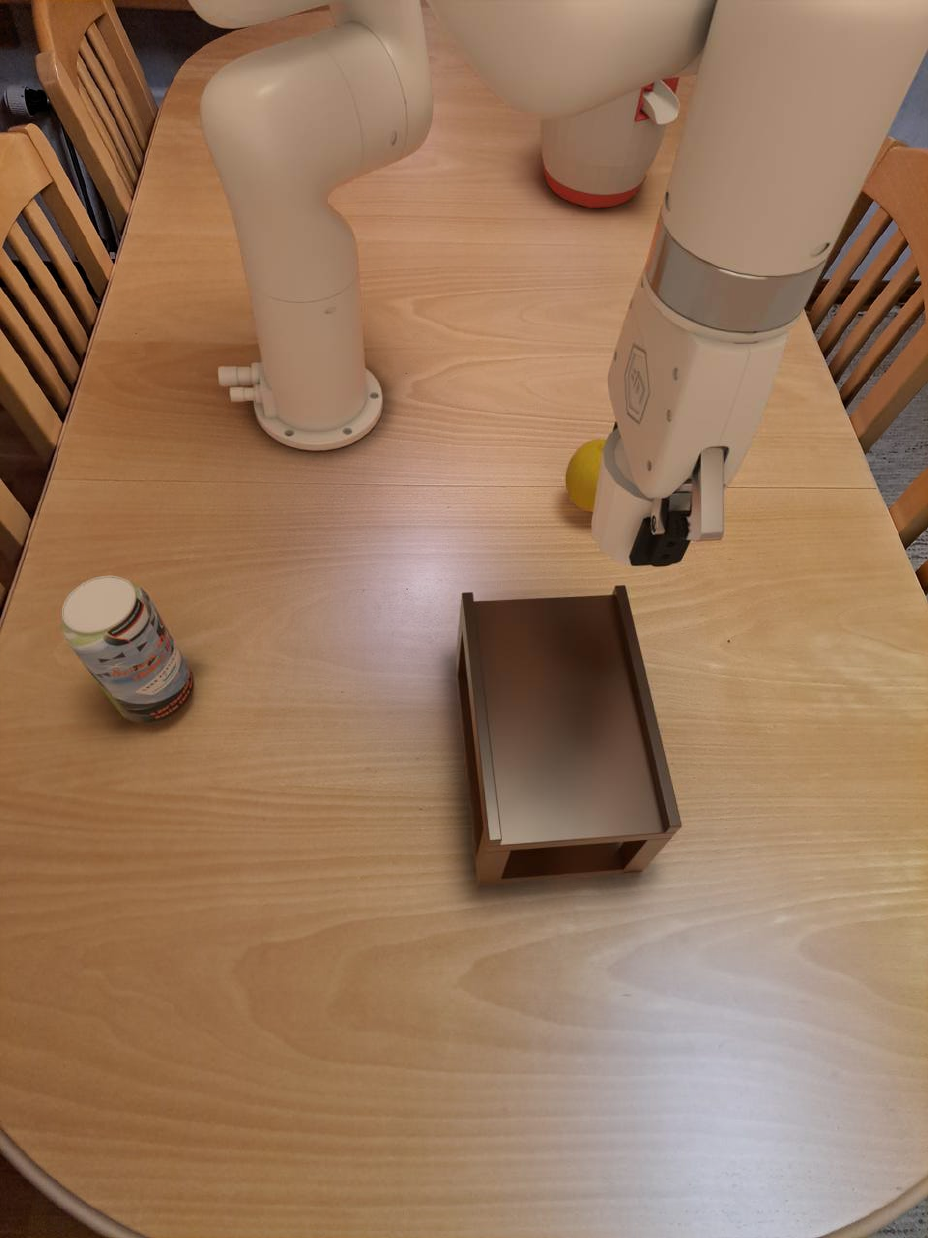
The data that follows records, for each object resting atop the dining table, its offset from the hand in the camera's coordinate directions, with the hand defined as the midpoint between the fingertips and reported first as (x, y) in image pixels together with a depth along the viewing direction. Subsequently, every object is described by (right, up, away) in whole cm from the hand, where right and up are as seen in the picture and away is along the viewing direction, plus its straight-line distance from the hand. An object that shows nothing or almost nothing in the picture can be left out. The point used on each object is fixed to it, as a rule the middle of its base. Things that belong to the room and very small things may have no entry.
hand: (640, 511), depth 52 cm
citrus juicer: (+6, +48, +53) cm, 72 cm away
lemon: (+1, +4, +25) cm, 26 cm away
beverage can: (-36, -13, +13) cm, 40 cm away
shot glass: (0, -1, +2) cm, 2 cm away
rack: (-5, -18, +11) cm, 22 cm away
